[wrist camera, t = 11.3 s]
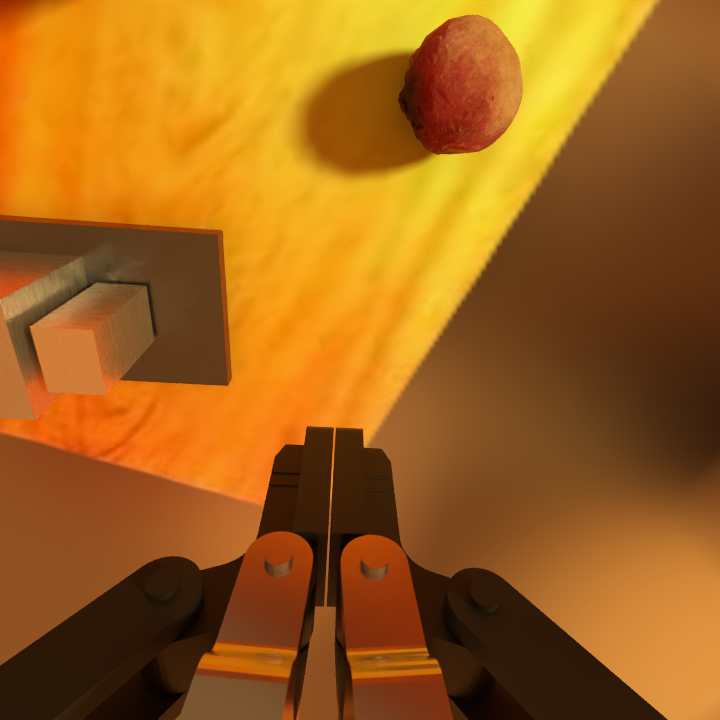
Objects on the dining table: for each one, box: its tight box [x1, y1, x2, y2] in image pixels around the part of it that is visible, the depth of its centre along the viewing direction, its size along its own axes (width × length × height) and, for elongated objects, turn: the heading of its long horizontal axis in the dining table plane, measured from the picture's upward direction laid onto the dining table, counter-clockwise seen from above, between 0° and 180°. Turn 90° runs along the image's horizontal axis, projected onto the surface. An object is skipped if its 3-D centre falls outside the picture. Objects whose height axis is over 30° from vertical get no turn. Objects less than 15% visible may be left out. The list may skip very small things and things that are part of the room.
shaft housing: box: [0, 215, 232, 420], centre depth 36 cm, size 14×26×12 cm, turn 86°
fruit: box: [398, 15, 523, 155], centre depth 30 cm, size 8×8×8 cm
